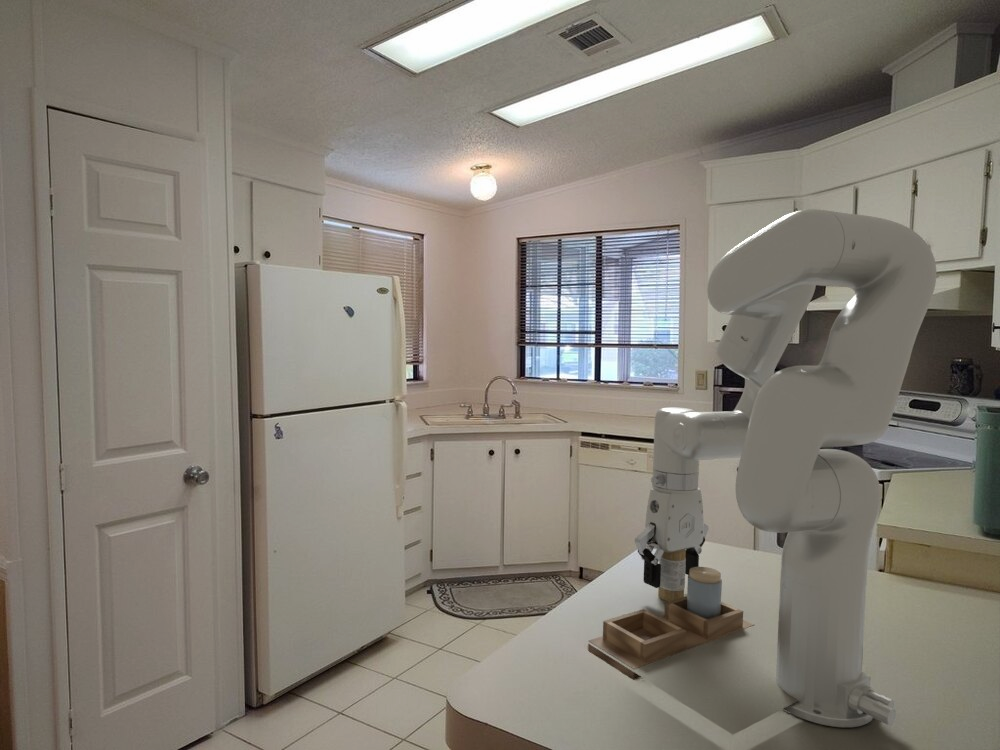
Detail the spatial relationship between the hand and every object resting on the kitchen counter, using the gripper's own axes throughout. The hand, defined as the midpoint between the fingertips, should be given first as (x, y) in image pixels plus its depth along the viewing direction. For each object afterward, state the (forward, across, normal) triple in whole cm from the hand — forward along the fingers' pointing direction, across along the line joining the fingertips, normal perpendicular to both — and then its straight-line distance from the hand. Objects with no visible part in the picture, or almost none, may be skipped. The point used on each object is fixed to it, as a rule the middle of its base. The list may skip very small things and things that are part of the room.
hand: (671, 579), depth 105 cm
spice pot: (+3, -4, -10) cm, 11 cm away
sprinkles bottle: (+5, 0, 0) cm, 5 cm away
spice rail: (+4, -10, -10) cm, 15 cm away
